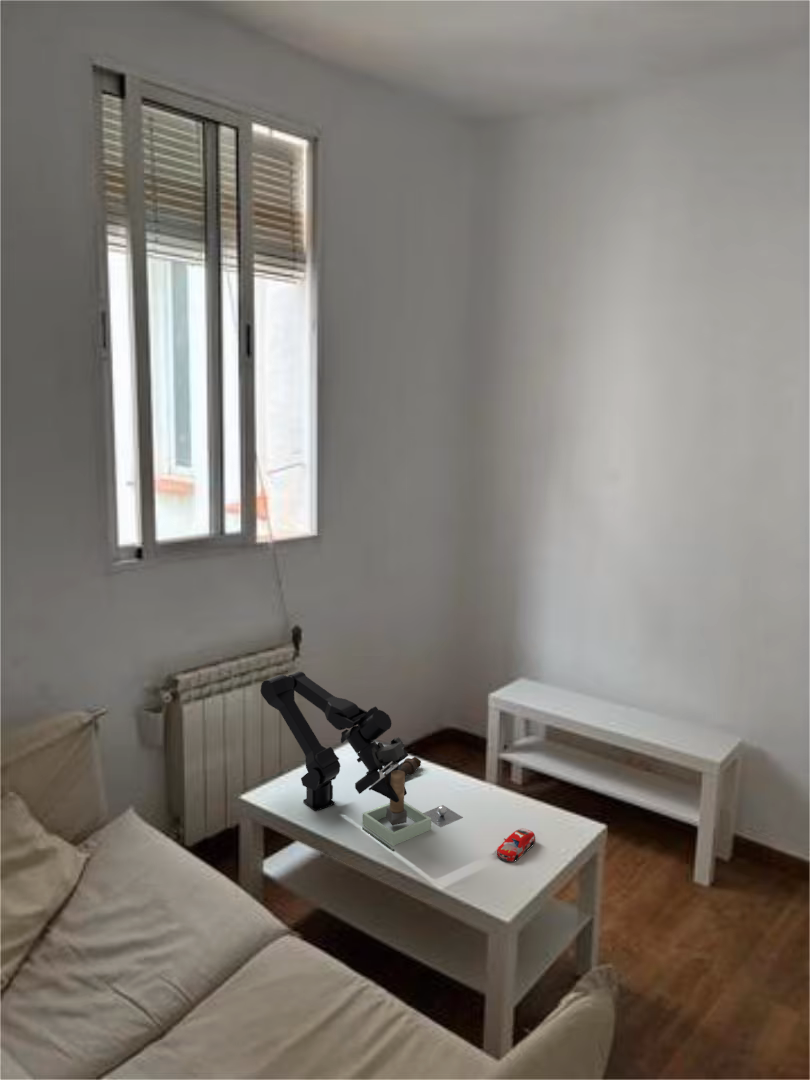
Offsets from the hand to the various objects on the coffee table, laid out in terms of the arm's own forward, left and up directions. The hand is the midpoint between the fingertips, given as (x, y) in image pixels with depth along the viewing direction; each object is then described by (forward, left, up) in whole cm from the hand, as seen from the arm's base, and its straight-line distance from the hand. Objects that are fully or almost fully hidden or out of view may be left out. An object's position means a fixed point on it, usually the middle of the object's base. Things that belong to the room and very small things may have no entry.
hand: (401, 798), depth 203 cm
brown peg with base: (-1, +1, -7) cm, 7 cm away
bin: (-1, +1, -10) cm, 10 cm away
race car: (+18, -23, -10) cm, 31 cm away
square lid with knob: (+12, -2, -10) cm, 16 cm away
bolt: (+20, +23, -10) cm, 33 cm away
